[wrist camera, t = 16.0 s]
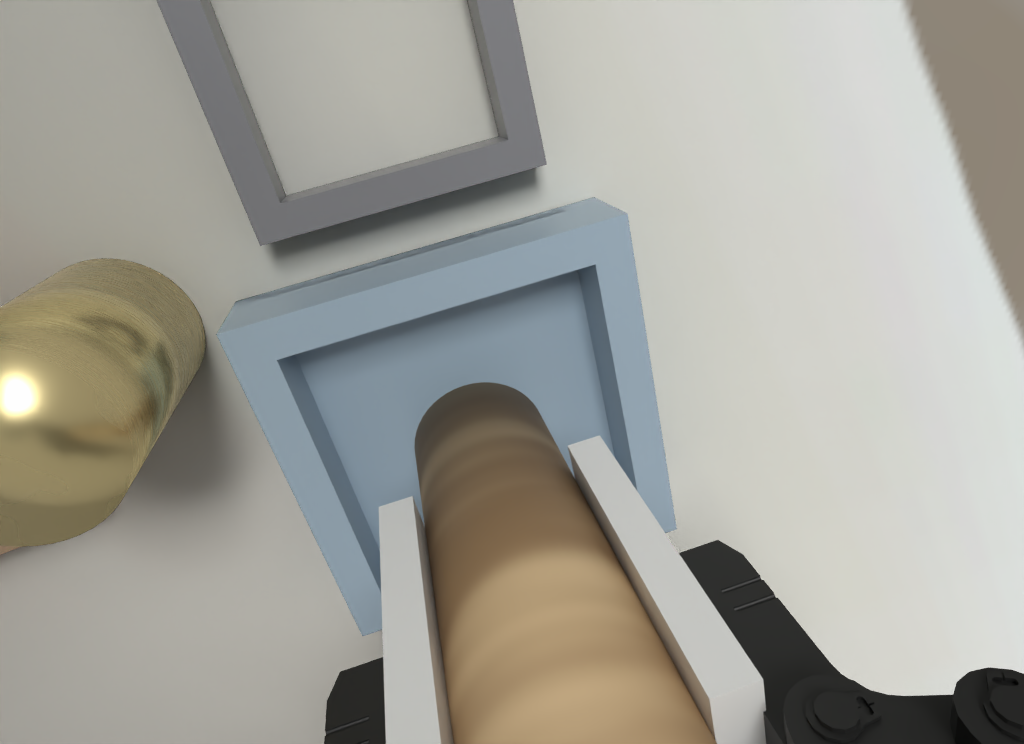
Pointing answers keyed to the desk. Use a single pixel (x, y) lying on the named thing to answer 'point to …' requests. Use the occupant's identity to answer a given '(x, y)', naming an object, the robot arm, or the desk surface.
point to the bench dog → (87, 392)
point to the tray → (447, 368)
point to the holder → (373, 191)
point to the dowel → (534, 590)
